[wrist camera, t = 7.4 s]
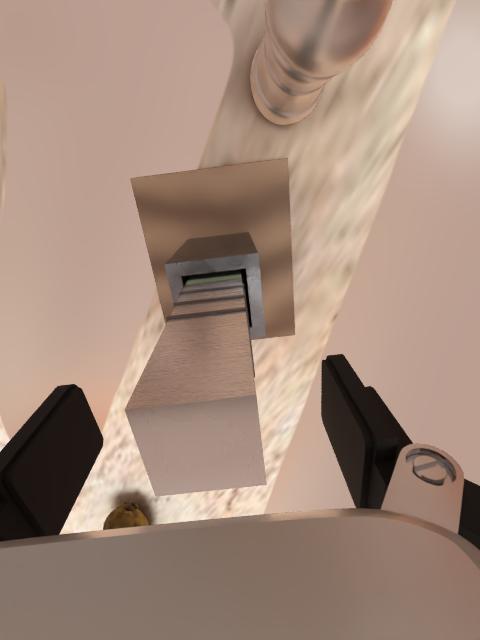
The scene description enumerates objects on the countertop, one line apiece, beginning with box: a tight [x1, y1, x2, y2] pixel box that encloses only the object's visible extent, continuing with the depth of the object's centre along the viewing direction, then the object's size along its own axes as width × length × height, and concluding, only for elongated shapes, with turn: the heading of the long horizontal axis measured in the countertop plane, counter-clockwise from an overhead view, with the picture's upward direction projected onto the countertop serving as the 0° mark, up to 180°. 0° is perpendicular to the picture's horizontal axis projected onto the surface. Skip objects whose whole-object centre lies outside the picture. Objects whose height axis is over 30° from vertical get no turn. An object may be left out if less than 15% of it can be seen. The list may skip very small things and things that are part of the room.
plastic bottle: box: [250, 0, 393, 125], centre depth 19 cm, size 6×7×20 cm
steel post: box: [125, 269, 266, 496], centre depth 18 cm, size 4×4×20 cm
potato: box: [103, 503, 149, 530], centre depth 49 cm, size 8×13×8 cm, turn 165°
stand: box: [131, 158, 295, 340], centre depth 28 cm, size 20×16×14 cm
